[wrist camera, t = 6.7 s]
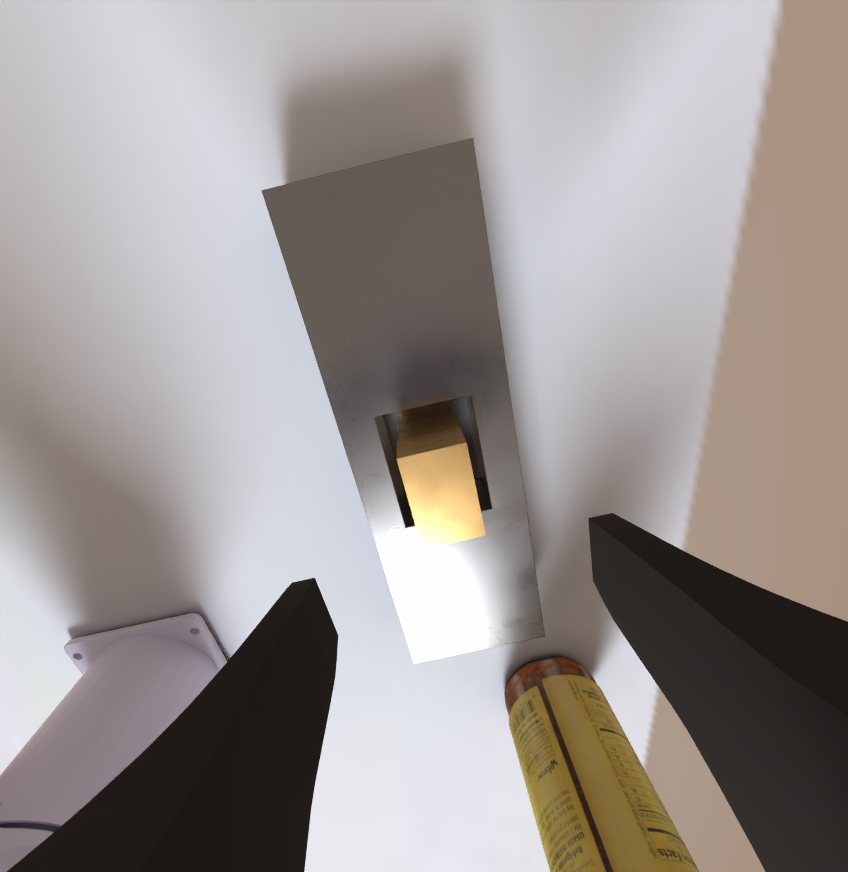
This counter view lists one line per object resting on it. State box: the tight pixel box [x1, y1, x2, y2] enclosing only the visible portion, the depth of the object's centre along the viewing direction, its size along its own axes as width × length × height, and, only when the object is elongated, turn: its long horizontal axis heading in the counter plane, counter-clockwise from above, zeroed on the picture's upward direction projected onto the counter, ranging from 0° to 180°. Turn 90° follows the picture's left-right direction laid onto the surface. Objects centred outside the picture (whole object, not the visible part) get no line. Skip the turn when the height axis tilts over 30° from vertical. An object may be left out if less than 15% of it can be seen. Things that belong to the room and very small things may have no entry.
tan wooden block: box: [396, 400, 486, 550], centre depth 16 cm, size 4×2×6 cm, turn 13°
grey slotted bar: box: [262, 138, 545, 664], centre depth 18 cm, size 22×7×3 cm, turn 12°
